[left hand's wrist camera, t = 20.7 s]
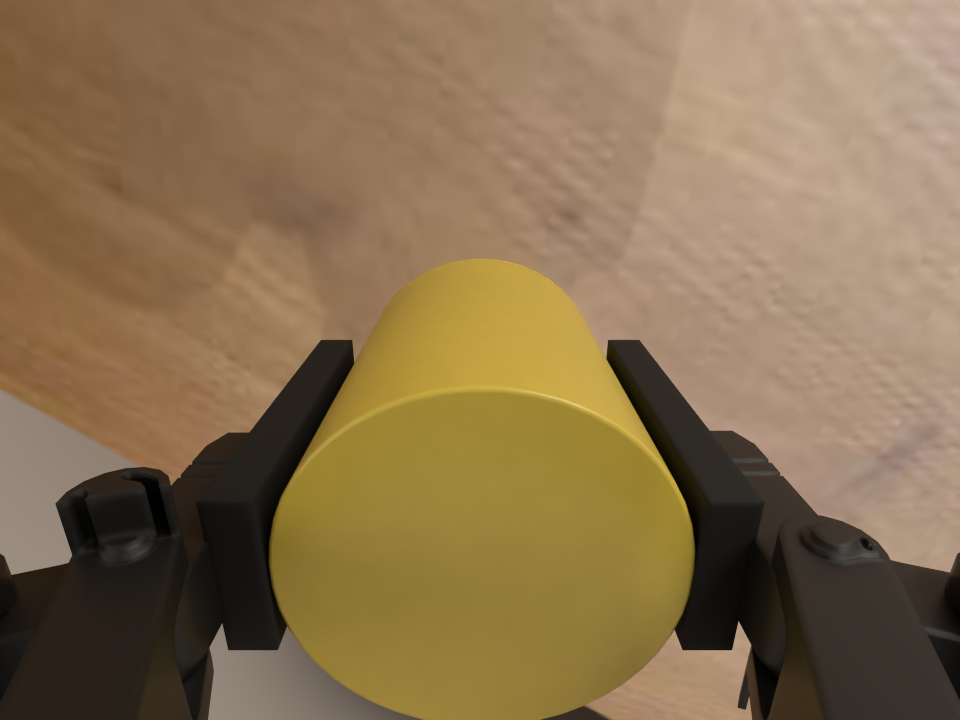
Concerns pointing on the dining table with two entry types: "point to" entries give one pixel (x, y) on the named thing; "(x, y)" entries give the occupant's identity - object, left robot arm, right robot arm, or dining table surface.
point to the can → (481, 510)
